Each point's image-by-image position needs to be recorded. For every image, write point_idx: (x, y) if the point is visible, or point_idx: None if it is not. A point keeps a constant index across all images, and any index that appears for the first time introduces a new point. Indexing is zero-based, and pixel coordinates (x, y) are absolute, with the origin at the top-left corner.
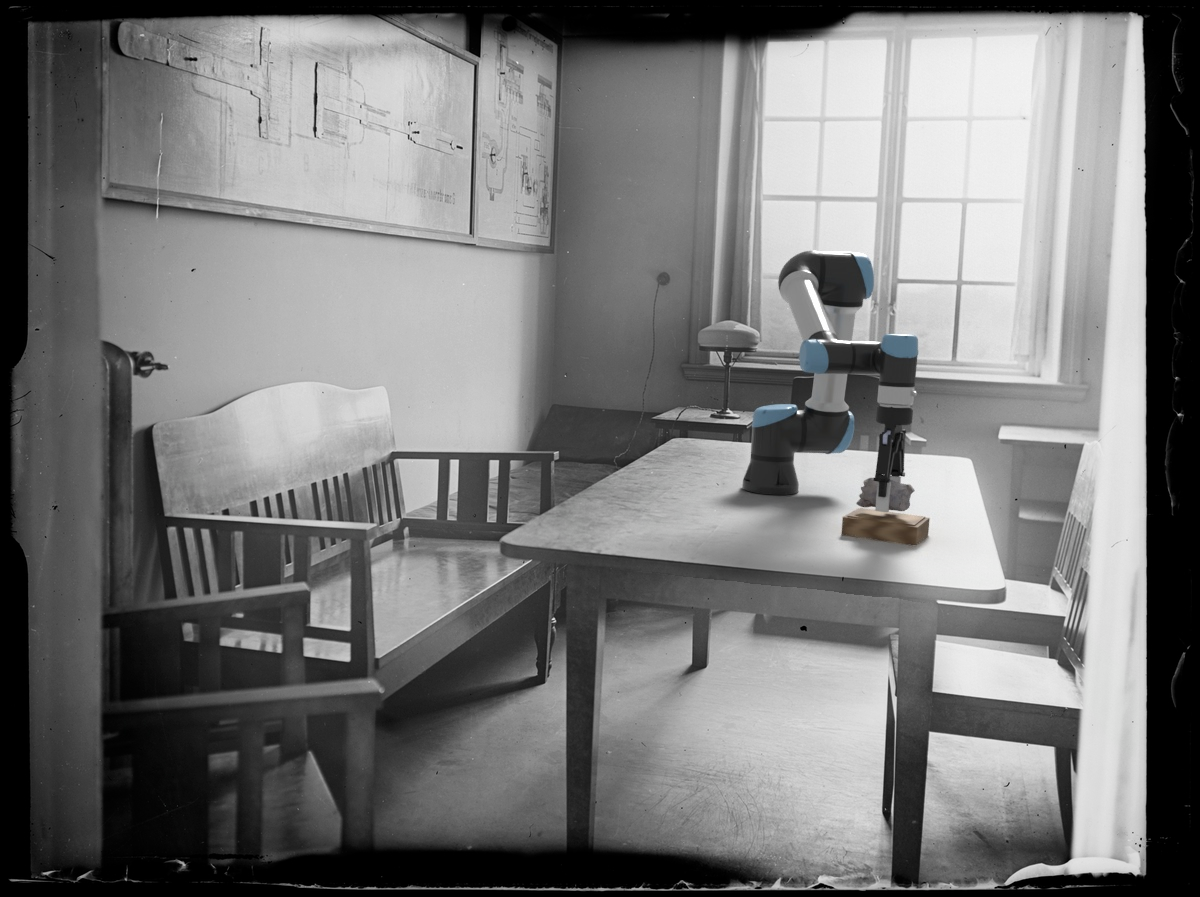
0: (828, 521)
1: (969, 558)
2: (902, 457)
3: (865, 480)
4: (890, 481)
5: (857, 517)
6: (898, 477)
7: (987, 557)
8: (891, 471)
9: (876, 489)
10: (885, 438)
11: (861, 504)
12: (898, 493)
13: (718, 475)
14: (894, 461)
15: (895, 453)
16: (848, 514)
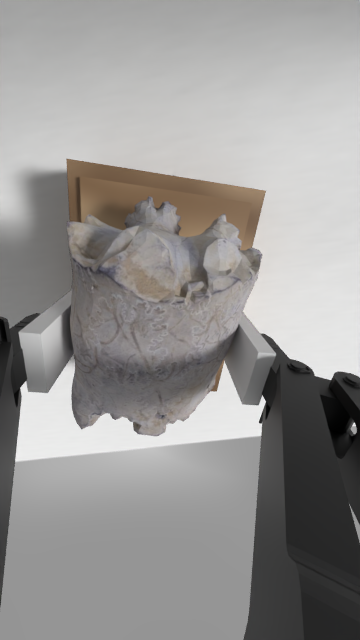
0: (269, 84)
1: (60, 435)
2: (357, 510)
3: (134, 239)
4: (115, 378)
5: (82, 217)
6: (244, 396)
7: (89, 453)
8: (277, 381)
9: (71, 306)
10: None
11: (127, 223)
12: (72, 389)
13: None
14: (269, 457)
15: (261, 553)
16: (129, 173)
